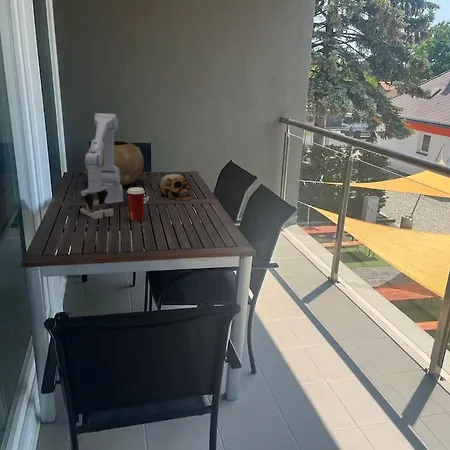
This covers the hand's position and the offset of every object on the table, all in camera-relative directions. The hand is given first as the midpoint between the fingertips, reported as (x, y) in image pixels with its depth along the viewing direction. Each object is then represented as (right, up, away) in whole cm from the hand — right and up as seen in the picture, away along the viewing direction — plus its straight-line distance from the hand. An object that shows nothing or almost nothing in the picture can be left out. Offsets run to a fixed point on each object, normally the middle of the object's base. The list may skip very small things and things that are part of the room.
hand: (96, 208), depth 209 cm
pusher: (+4, -4, -4) cm, 7 cm away
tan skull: (+34, +7, +36) cm, 49 cm away
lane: (0, -2, +1) cm, 3 cm away
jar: (-2, -2, +2) cm, 3 cm away
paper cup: (+20, -5, -5) cm, 21 cm away
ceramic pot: (-5, +16, +58) cm, 60 cm away
